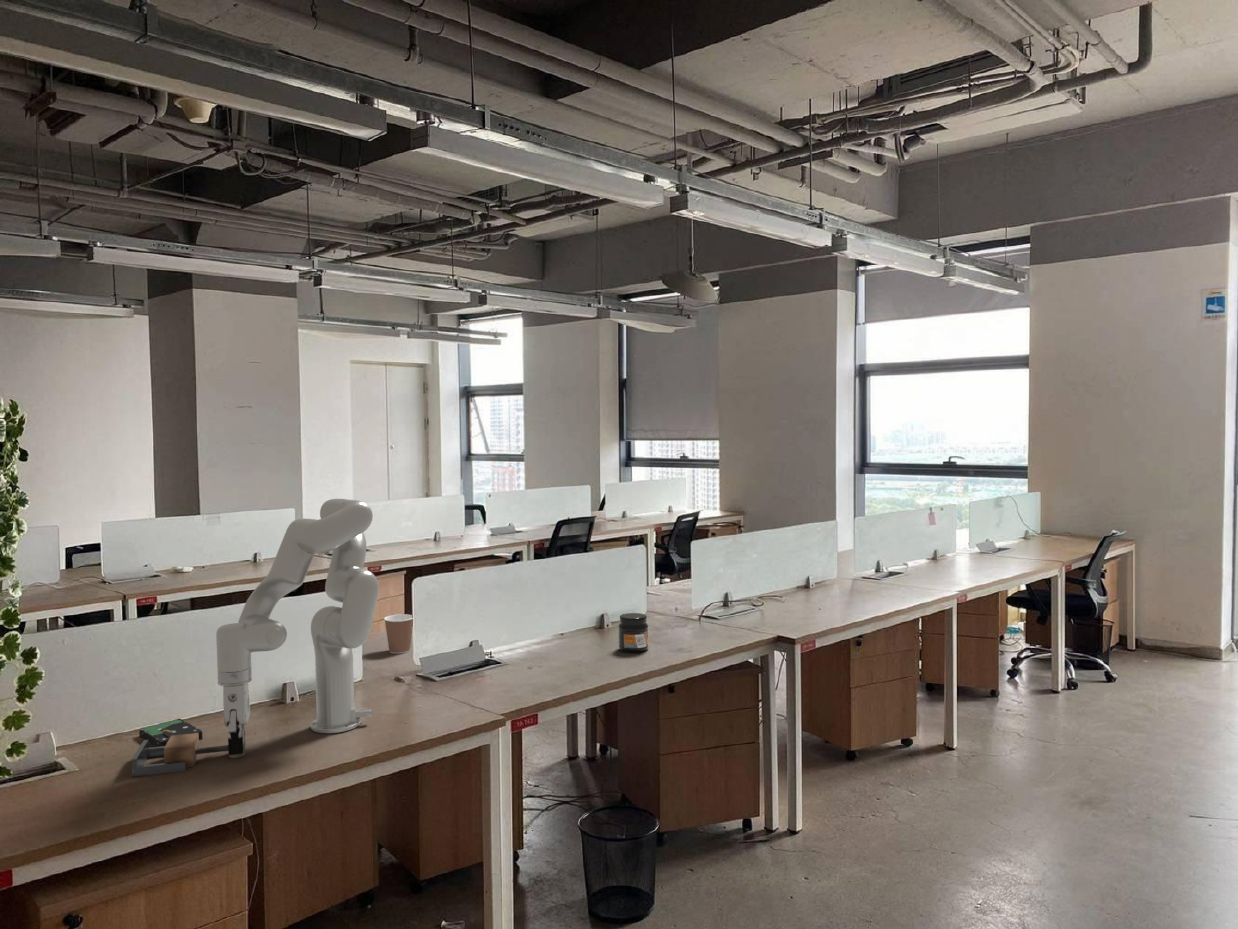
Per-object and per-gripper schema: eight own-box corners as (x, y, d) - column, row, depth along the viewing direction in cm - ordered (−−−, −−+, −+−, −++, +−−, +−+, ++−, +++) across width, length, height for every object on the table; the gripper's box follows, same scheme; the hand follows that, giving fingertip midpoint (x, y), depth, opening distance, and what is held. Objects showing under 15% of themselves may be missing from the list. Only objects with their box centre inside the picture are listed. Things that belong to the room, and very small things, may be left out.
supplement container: (645, 654, 302) (644, 619, 301) (615, 652, 304) (614, 618, 304) (651, 646, 312) (650, 613, 311) (622, 645, 314) (621, 612, 314)
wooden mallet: (247, 748, 217) (246, 724, 217) (243, 761, 209) (242, 736, 208) (171, 756, 212) (171, 731, 212) (164, 770, 204) (163, 744, 203)
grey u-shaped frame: (194, 751, 215) (193, 735, 215) (185, 770, 203) (184, 753, 203) (144, 756, 212) (143, 740, 212) (132, 777, 200) (131, 759, 200)
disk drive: (203, 741, 224) (180, 727, 234) (203, 730, 224) (179, 717, 234) (160, 753, 216) (138, 738, 226) (160, 741, 216) (137, 727, 226)
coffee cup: (406, 646, 317) (406, 613, 316) (420, 651, 309) (419, 617, 308) (379, 651, 310) (379, 617, 310) (392, 656, 302) (391, 622, 302)
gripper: (247, 684, 205) (250, 761, 206) (255, 665, 221) (257, 737, 221) (212, 687, 202) (215, 765, 203) (222, 668, 218) (224, 741, 219)
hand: (237, 750), depth 212 cm, fingers closed on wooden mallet, 3 cm apart
